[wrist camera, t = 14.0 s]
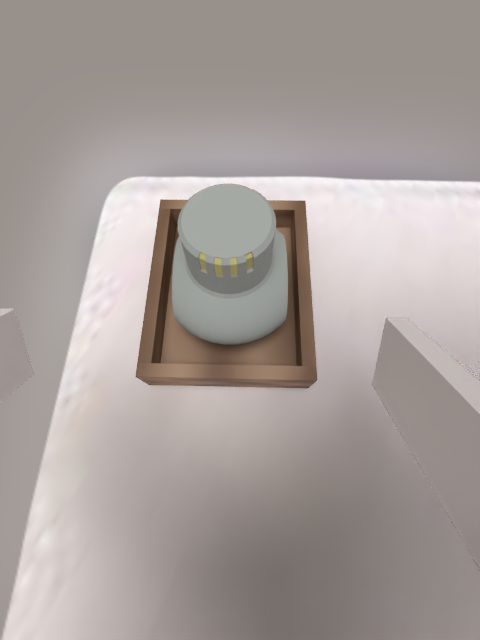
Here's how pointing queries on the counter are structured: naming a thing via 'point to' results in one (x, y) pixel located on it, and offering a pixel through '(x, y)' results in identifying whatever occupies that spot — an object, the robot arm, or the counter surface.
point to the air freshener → (229, 266)
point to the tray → (218, 359)
